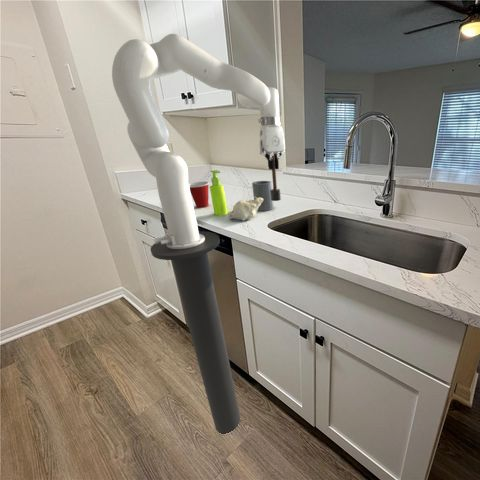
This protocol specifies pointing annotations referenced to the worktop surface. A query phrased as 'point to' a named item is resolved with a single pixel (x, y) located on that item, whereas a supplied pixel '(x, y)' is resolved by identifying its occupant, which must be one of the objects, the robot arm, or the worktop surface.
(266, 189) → the gray cup
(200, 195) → the plastic cup
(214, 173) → the soap dispenser
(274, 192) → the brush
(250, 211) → the cream spiral shell
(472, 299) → the worktop surface
